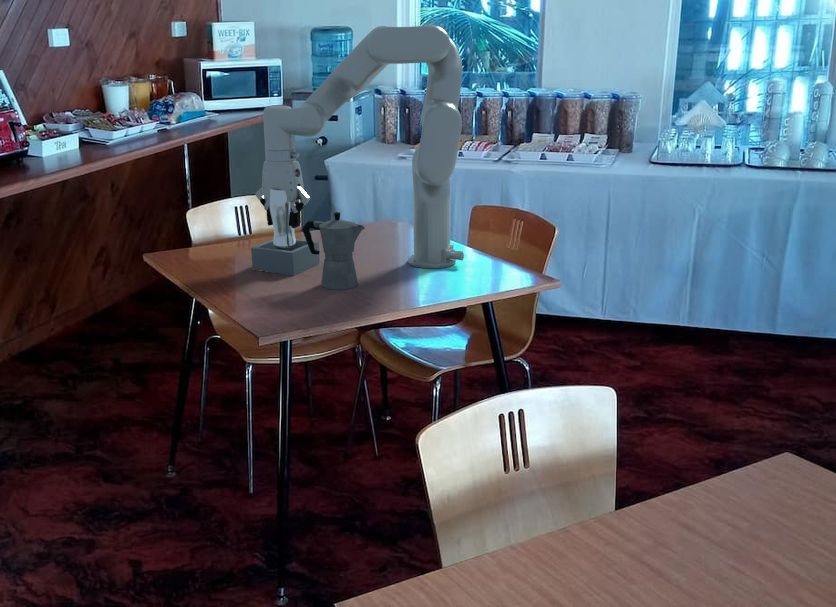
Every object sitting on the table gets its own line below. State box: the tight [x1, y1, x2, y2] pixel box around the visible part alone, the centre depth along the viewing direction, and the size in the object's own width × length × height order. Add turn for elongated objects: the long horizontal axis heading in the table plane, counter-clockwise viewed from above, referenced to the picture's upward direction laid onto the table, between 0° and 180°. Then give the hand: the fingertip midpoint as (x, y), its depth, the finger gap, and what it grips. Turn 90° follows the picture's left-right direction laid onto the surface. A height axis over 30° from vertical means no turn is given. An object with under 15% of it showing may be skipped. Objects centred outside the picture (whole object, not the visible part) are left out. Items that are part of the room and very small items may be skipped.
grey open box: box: [250, 238, 320, 277], centre depth 237 cm, size 12×12×6 cm
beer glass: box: [269, 188, 297, 248], centre depth 234 cm, size 7×7×15 cm
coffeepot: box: [302, 211, 365, 291], centre depth 220 cm, size 15×9×18 cm, turn 78°
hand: (284, 225), depth 235 cm, fingers closed on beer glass, 6 cm apart
